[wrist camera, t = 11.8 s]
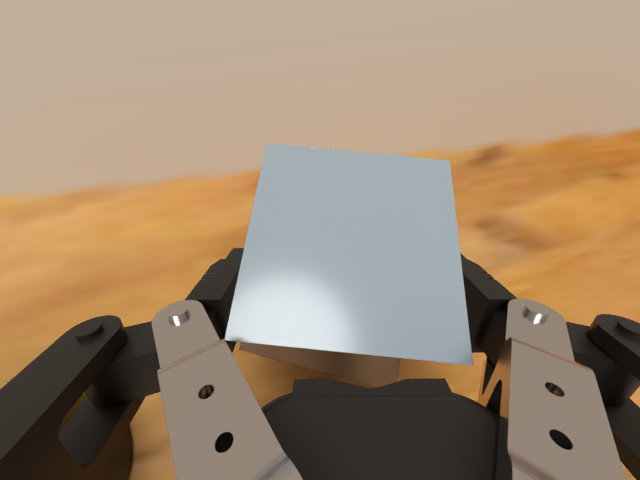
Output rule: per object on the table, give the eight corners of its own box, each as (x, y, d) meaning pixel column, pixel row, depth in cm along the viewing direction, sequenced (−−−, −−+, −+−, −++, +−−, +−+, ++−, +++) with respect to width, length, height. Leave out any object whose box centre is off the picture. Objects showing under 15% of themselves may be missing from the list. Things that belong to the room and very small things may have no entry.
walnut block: (257, 344, 20) (239, 349, 15) (291, 234, 23) (284, 211, 19) (376, 377, 19) (395, 392, 15) (394, 259, 23) (414, 241, 18)
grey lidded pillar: (281, 334, 16) (223, 339, 6) (293, 249, 18) (266, 143, 8) (371, 343, 16) (473, 365, 6) (372, 257, 18) (449, 160, 8)
